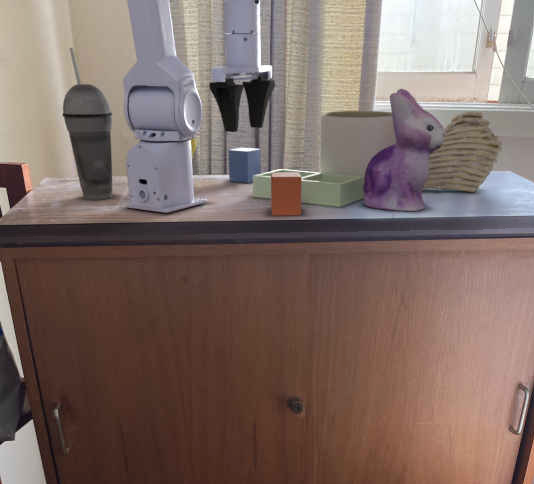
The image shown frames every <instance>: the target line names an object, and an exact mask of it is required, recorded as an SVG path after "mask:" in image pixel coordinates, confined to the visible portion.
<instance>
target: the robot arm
mask: <svg viewBox="0 0 534 484" xmlns="http://www.w3.org/2000/svg"><path fill="white" fill-rule="evenodd" d="M126 2H127V8H128V14H129V19H130V25H131V26H130V27H131V32H132V37H133V45H134V50H135V56H136V62H135V63H134V65H132V67H131V68H130V69H129V70H128V71H127V72H126V74H125V75H124V77H123V78H122V83H123V90H124V97H123V98H124V99H123V115H124V118H125V121H126V124H127V126H128V127H129V129H130V130H131V131H132V133H134V138H135V140H139V142H138V143H137V144H134V145H132V146H131V147H130V148H129V149H128V151H127V153H126V158H125V169H126V177H127V187H128V197H129V203H126V204H125V207H126V208H129V209H135V210H141V211H142V210H143V211H149V212H150V211H151V212H158V213H165V214H169V213H172V212H175V211H179V210H183V209H187V208H190V207H191V208H192V207H194V206H198V205H201V204H205V203H207V198H201V197H195V190H194V189H195V188H194V175H193V174H194V172H193V157H192V154H191V139H193V138H196V135H197V133H198V131H199V129H200V127H201V124H202V121H203V104H202V100H201V97H200V95H199V93H198V92H199V91H198V89H197V87H196V81H195V74H194V72H192V70H190V68H189V67H188V66H187V65H185V64H184V63H183V62H182V61H181V60H180V59H179V58H178V56H177V50H176V44H175V35H174V29H173V28H174V27H173V21H172V13H171V5H170V0H126ZM222 4H223V6H222V7H223V34H224V35H223V37H224V65H225V66H218V67H217V66H216V67H211V70H210V71H211V82H209V90H210V92H211V93H212V96H213V98H214V100H215V102H216V104H217V107H218V109H219V113H220V117H221V121H222V125H223V128H224V132H225V133H227V132H228V133H238V130H239V122H240V121H239V120H240V104H241V103H240V102H241V98H242V94H243V92H244V93H245V97H246V102H247V107H248V119H249V120H248V121H249V125H250V128H256V129H262V128H264V127H263V126H264V122H265V118H266V113H267V112H266V111H267V109H268V104H269V101H270V98H271V96H272V93H273V91H274V89H275V87H276V80H275V79H272V78H273V65H263V64H262V65H261V0H222ZM242 74H244V76H242ZM248 80H249V81H248ZM234 81H235V82H234ZM236 81H242V83H241V84H240V83H238V84H237V83H236ZM243 90H244V91H243Z"/></svg>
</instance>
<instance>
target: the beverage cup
mask: <svg viewBox="0 0 534 484" xmlns="http://www.w3.org/2000/svg"><path fill="white" fill-rule="evenodd" d="M69 52H70V56H71V62H72V66H73V70H74V74H75V79H76V84H75V85H73V86H71V87H70V88H69V89H68V91H67V92H66V93H65V95H64V98H63V102H62V117H63V119H64V123H65V127H66V130H67V132H68V135H69V139H70V145H71V148H72V155H73V159H74V162H75V167H76V172H77V176H78V180H79V181H78V182H79V186H80V188H81V192H82V197H83V199H85V200H89V201H91V200H92V201H93V200H95V201H97V200H98V201H99V200H107V199H111V198H113V185H114V184H113V161H112V139H111V138H112V135H111V131H112V122H113V121H112V116H113V113H112V111H111V105H110V104H109V100H108V98H107V97H106V95H105V94H104V93H103V92H102V90H101V89H99V87H97V86H95V85H93V84H90V83H82V81H81V78H80V73H79V68H78V64H77V60H76V56H75V51H74V48H73V47H69Z"/></svg>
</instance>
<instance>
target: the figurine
mask: <svg viewBox="0 0 534 484" xmlns="http://www.w3.org/2000/svg"><path fill="white" fill-rule="evenodd" d="M389 104H390V110H391V112H392V117H393V124H394V131H395V138H396V143H395V144H394V145H391V146H389V147H387V148H385V149H383V150H381V151H380V152H378V153H377V154H376V155H374V156H373V157H372V159H371V160H370V162H369V164H368V166H367V168H366V172H365V182H364V185H363V187H362V191H363V193H364V198H363V199H362V200H363V205H364V206H365V207H367V208H371V209H378V210H387V211H397V212H399V211H402V212H418V211H420V210H424V209H425V207H426V203H425V201H424V198H423V194H422V192H423V190H422V188H423V187H424V185H425V182H426V180H427V178H428V176H429V156H430V154H431V153H432V152H434V151H436V150H438V149H439V148H440V147H441V146H442V144H443V142H444V138H445V134H446V132H445V128H444V126H443V125H442V123H441V122H440V121H439V120H438V118H437V117H436V116H434V115H433V114H432V113H430V112H429V111H427V110H425V109H424V108H423V107H422V106H421V105H420V104H419V102H417V100H416V98H415V97H414V96H413V95H412V94H411V92H410V91H408V90H406V89H404V88H399V89H398V90H397V91H396V92H393V93H391V94H390V95H389Z"/></svg>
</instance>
